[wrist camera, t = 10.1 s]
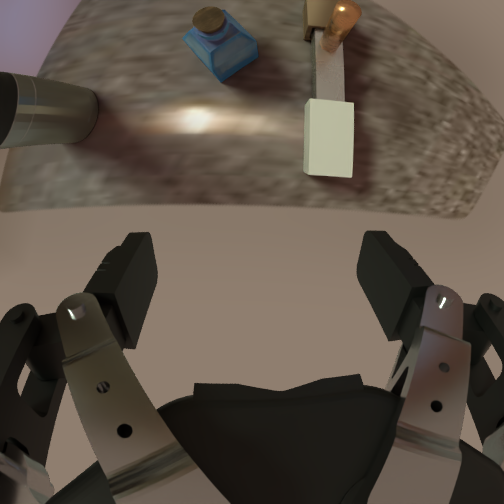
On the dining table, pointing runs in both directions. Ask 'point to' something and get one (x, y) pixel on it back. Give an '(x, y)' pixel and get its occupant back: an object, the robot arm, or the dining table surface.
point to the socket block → (317, 15)
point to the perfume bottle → (220, 42)
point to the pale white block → (328, 138)
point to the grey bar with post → (332, 52)
